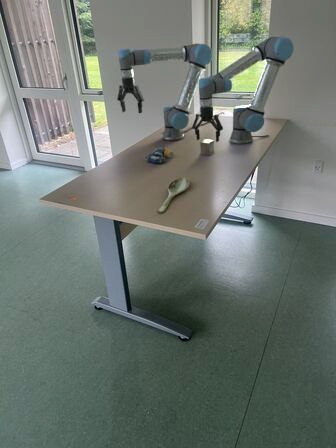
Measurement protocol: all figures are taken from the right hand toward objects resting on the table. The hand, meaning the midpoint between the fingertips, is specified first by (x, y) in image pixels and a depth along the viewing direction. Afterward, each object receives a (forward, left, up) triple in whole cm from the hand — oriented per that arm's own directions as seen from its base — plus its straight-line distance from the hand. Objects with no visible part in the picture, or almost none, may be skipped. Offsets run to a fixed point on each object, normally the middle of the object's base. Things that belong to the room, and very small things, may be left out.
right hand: (207, 140), depth 211 cm
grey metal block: (0, 0, -8) cm, 8 cm away
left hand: (+27, -43, +17) cm, 53 cm away
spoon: (+54, +31, -8) cm, 63 cm away
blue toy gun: (+26, -16, -8) cm, 32 cm away
